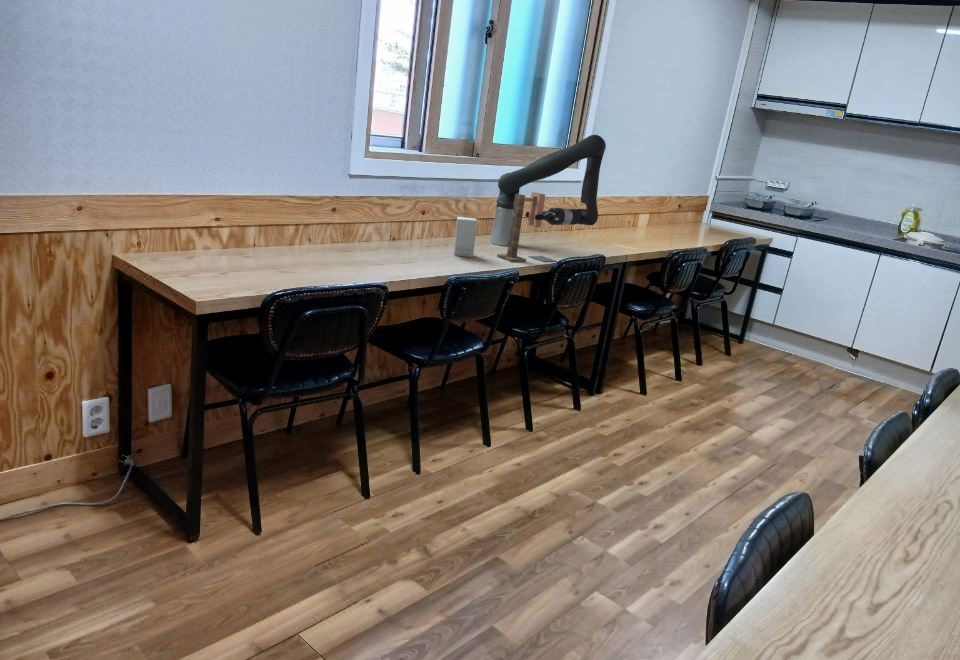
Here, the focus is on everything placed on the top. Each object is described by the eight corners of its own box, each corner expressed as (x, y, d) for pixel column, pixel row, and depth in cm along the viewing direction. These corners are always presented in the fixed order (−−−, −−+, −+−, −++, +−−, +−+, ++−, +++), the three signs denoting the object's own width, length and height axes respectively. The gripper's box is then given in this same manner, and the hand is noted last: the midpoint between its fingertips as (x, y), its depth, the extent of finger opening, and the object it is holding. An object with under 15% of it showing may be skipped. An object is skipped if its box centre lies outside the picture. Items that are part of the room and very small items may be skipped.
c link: (526, 224, 320) (531, 192, 316) (532, 224, 322) (536, 192, 318) (535, 227, 316) (540, 194, 312) (540, 227, 317) (545, 194, 313)
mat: (528, 256, 327) (528, 256, 327) (541, 256, 332) (541, 255, 332) (543, 262, 320) (543, 261, 320) (556, 261, 325) (556, 260, 325)
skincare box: (472, 254, 315) (477, 218, 311) (473, 257, 309) (477, 220, 305) (453, 252, 315) (457, 216, 310) (453, 255, 308) (457, 218, 304)
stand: (496, 256, 318) (505, 192, 310) (526, 256, 328) (535, 193, 321) (511, 262, 310) (520, 196, 303) (541, 261, 321) (551, 197, 313)
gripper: (550, 205, 330) (521, 204, 320) (572, 210, 320) (543, 209, 309) (547, 221, 332) (518, 221, 322) (569, 228, 322) (540, 227, 311)
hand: (530, 215), depth 316 cm, fingers closed on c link, 5 cm apart
